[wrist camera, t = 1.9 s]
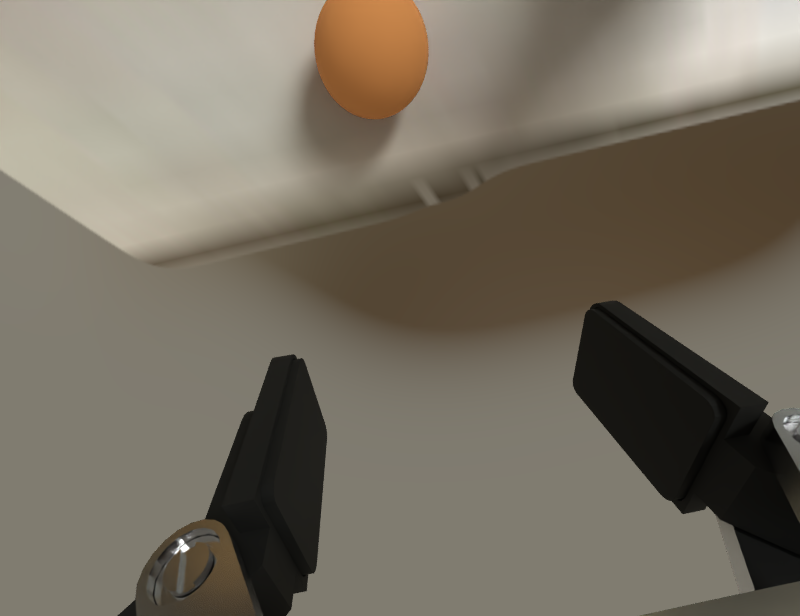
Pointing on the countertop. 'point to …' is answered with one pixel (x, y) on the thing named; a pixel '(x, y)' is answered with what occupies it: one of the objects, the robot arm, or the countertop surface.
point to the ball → (371, 54)
